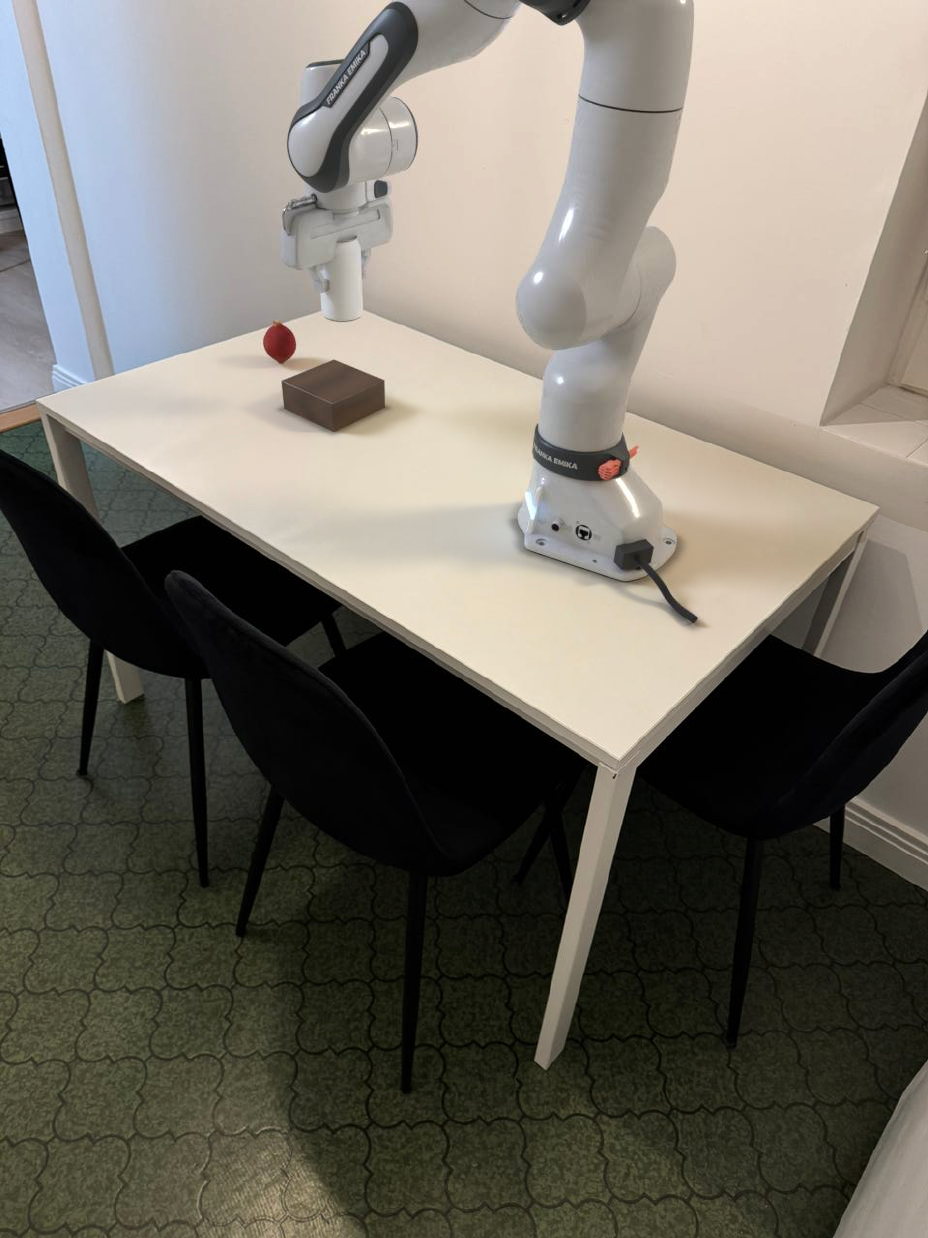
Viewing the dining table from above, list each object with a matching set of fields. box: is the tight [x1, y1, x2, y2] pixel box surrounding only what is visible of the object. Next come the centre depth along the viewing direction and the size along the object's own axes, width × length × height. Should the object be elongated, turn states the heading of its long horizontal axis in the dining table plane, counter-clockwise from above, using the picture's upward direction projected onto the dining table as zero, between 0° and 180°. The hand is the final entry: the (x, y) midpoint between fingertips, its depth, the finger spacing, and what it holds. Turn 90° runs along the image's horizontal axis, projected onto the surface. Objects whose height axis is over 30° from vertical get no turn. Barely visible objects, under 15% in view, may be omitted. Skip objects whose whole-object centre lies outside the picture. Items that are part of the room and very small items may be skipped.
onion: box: [262, 319, 297, 364], centre depth 163 cm, size 6×6×8 cm
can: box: [319, 236, 364, 323], centre depth 139 cm, size 6×6×12 cm
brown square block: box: [281, 359, 386, 433], centre depth 151 cm, size 12×12×5 cm
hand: (340, 284), depth 139 cm, fingers closed on can, 6 cm apart
